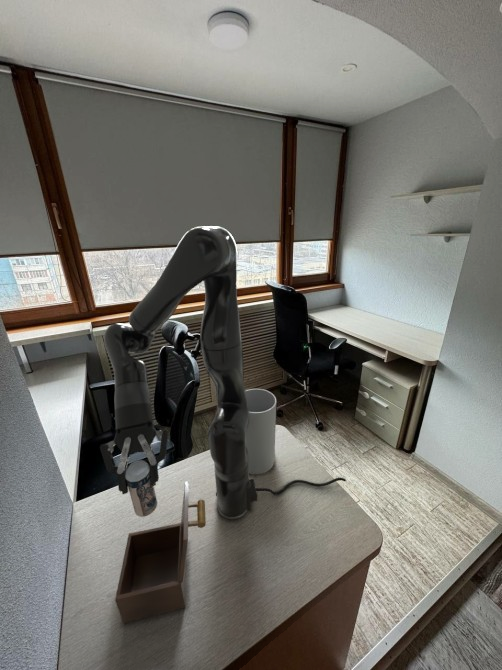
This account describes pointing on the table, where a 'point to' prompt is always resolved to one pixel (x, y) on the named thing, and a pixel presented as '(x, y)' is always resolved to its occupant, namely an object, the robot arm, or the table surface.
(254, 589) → the table surface
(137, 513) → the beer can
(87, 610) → the table surface
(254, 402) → the cylinder vase
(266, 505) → the table surface
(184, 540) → the chest lid
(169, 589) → the chest
